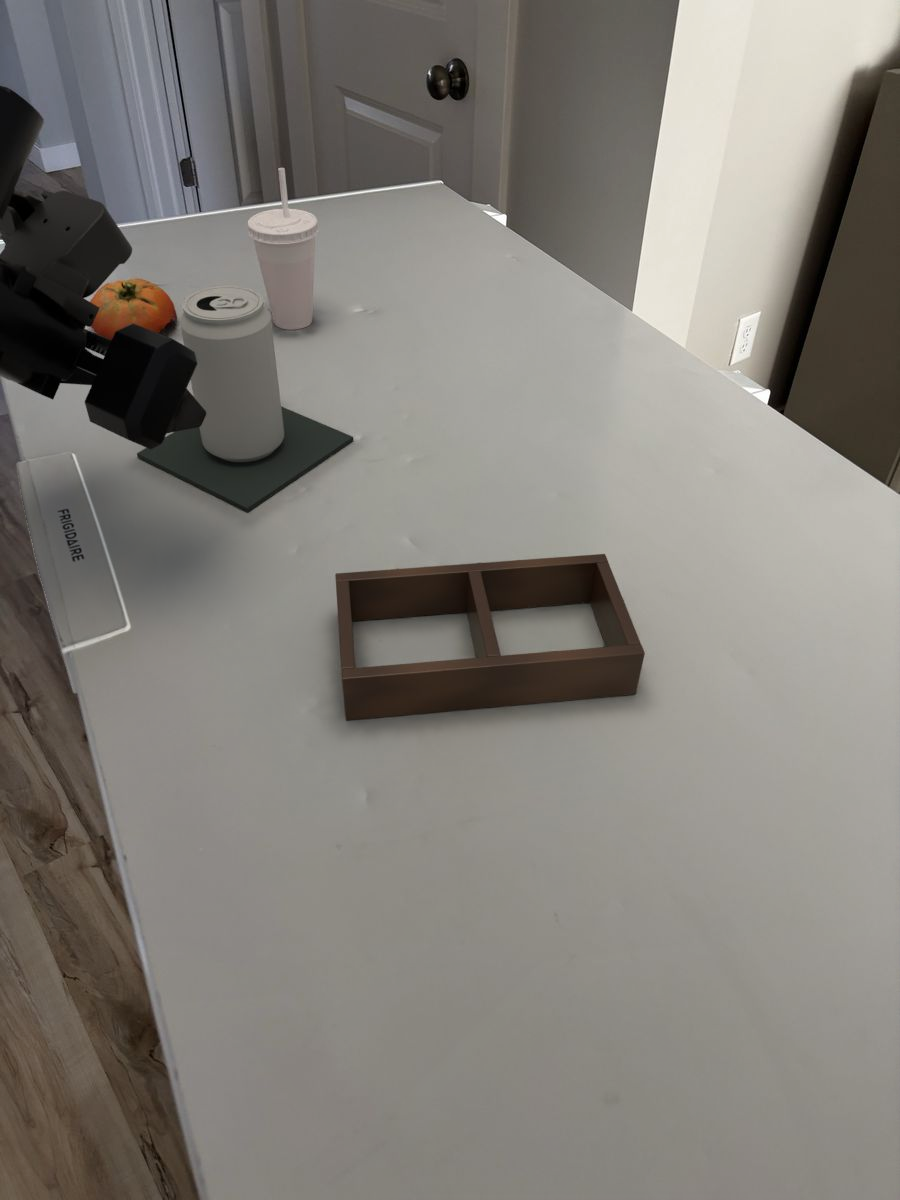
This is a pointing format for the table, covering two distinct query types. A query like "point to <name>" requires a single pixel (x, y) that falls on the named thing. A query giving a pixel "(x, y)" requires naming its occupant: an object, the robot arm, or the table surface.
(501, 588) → the stand
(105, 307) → the tomato
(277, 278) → the smoothie
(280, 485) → the mat
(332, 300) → the table surface
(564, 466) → the table surface
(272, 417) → the beverage can
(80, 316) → the robot arm
